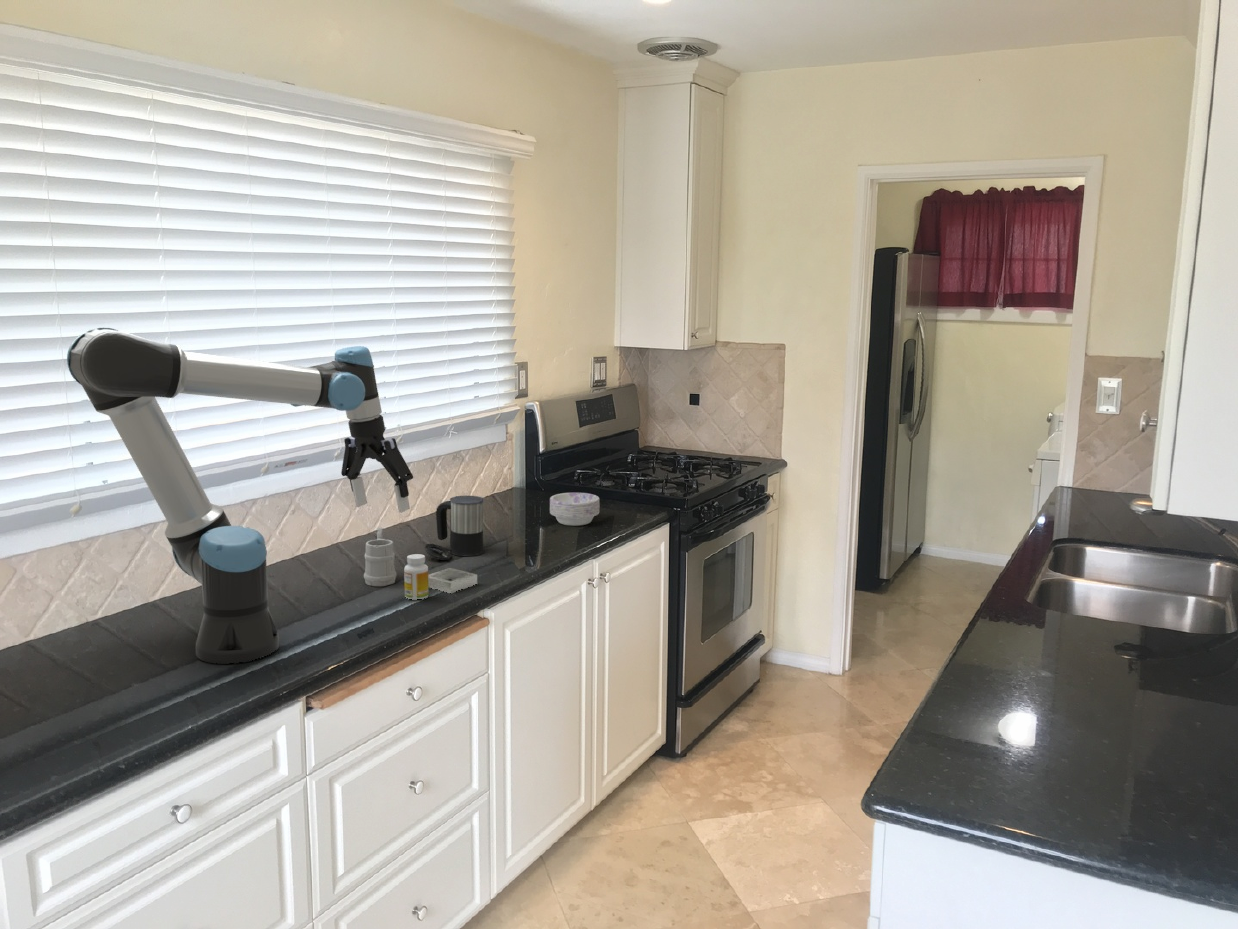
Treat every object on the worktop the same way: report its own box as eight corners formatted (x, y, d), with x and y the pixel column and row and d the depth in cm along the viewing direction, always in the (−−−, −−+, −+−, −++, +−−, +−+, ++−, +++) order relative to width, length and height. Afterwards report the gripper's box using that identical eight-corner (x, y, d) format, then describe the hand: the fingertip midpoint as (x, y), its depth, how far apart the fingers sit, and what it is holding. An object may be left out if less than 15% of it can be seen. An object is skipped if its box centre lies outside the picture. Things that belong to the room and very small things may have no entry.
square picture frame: (450, 593, 224) (450, 583, 223) (423, 586, 229) (423, 576, 228) (477, 584, 231) (477, 574, 231) (449, 577, 236) (449, 567, 236)
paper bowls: (542, 525, 289) (542, 500, 288) (559, 514, 304) (560, 490, 302) (590, 530, 285) (590, 504, 284) (605, 519, 299) (606, 494, 298)
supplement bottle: (430, 593, 224) (429, 553, 222) (426, 601, 218) (426, 559, 217) (407, 593, 224) (406, 552, 222) (402, 600, 218) (401, 559, 217)
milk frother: (488, 548, 263) (488, 495, 260) (474, 564, 248) (473, 508, 245) (437, 546, 264) (437, 493, 262) (420, 562, 249) (419, 506, 246)
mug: (363, 587, 227) (362, 538, 225) (365, 573, 238) (363, 526, 236) (396, 586, 229) (395, 537, 226) (396, 571, 240) (395, 525, 238)
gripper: (418, 414, 207) (434, 507, 213) (339, 410, 221) (356, 497, 227) (393, 424, 201) (411, 518, 208) (313, 419, 215) (332, 508, 221)
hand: (382, 508), depth 217 cm, fingers open, 13 cm apart
